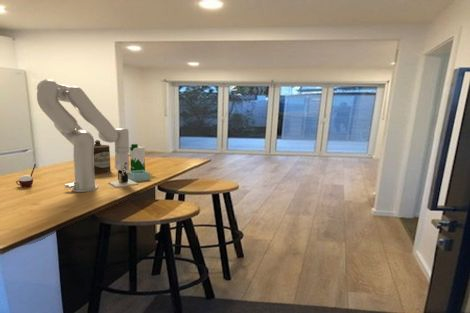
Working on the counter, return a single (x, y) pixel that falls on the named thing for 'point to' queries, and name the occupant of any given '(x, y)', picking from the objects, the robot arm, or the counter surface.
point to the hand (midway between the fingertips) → (122, 180)
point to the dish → (138, 175)
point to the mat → (123, 186)
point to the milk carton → (137, 157)
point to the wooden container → (101, 158)
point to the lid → (120, 183)
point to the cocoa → (26, 179)
